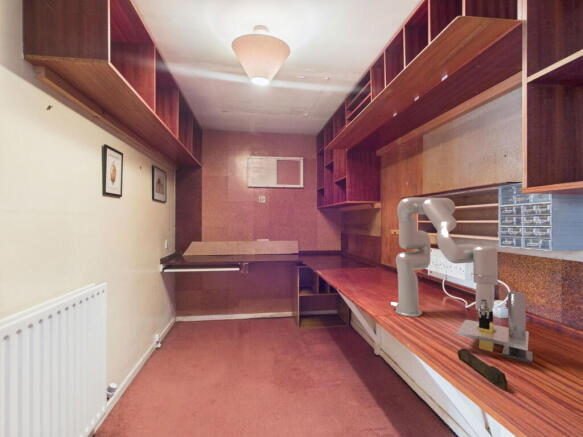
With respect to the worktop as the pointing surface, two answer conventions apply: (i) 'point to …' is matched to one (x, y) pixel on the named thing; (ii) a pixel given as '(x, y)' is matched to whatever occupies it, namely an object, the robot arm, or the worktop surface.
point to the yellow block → (485, 344)
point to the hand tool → (484, 369)
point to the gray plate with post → (506, 330)
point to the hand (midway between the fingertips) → (486, 324)
